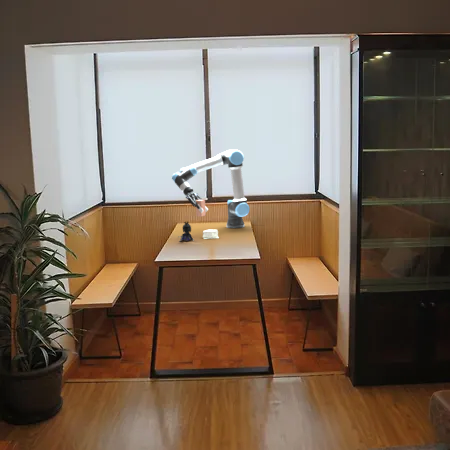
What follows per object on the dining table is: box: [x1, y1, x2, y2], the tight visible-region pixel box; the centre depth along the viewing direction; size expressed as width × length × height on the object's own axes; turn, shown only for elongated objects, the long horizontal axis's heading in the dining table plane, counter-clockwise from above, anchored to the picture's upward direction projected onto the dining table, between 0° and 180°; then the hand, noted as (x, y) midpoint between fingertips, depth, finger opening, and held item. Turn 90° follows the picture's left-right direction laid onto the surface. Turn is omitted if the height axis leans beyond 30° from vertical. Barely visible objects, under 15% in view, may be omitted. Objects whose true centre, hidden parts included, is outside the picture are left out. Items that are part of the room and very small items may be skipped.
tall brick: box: [195, 199, 207, 217], centre depth 411 cm, size 5×5×12 cm
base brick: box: [202, 229, 219, 239], centre depth 404 cm, size 8×8×5 cm
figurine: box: [177, 221, 194, 243], centre depth 396 cm, size 8×12×15 cm
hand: (204, 211), depth 409 cm, fingers closed on tall brick, 5 cm apart
